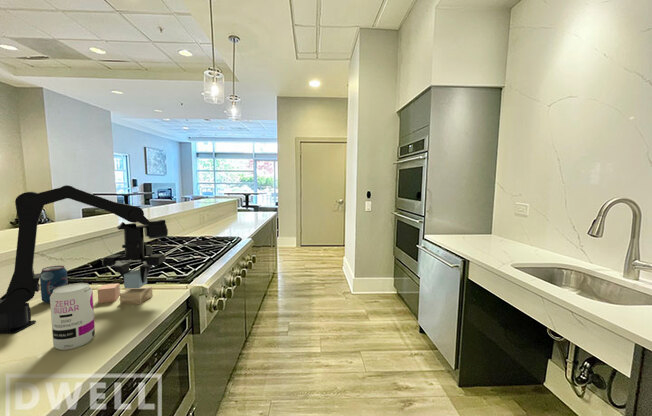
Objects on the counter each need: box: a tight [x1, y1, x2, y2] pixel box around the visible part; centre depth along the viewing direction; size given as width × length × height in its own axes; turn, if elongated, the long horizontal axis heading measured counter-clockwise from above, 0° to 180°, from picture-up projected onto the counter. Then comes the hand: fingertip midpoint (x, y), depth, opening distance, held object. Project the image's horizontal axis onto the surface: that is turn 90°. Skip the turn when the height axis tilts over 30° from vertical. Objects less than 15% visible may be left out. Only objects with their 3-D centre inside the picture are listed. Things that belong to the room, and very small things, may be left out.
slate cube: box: [123, 269, 148, 289], centre depth 100 cm, size 5×5×5 cm
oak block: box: [119, 285, 154, 305], centre depth 101 cm, size 7×7×4 cm
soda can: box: [39, 265, 69, 304], centre depth 99 cm, size 7×7×12 cm
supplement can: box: [49, 282, 96, 351], centre depth 73 cm, size 8×8×15 cm
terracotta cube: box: [97, 283, 121, 304], centre depth 101 cm, size 5×5×5 cm
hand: (136, 282), depth 101 cm, fingers closed on slate cube, 5 cm apart
